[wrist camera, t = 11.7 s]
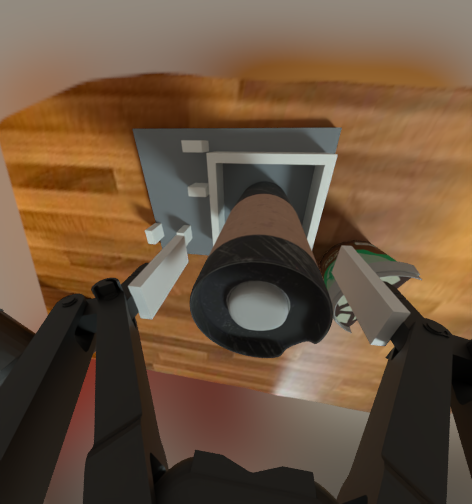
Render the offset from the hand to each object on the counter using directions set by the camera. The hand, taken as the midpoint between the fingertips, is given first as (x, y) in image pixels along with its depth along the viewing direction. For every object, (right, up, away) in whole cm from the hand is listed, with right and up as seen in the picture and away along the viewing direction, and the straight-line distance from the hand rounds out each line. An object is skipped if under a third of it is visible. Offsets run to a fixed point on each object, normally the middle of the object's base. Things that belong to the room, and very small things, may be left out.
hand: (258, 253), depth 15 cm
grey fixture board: (-3, +8, +13) cm, 15 cm away
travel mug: (+2, +7, +11) cm, 13 cm away
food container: (+15, -1, +16) cm, 22 cm away
